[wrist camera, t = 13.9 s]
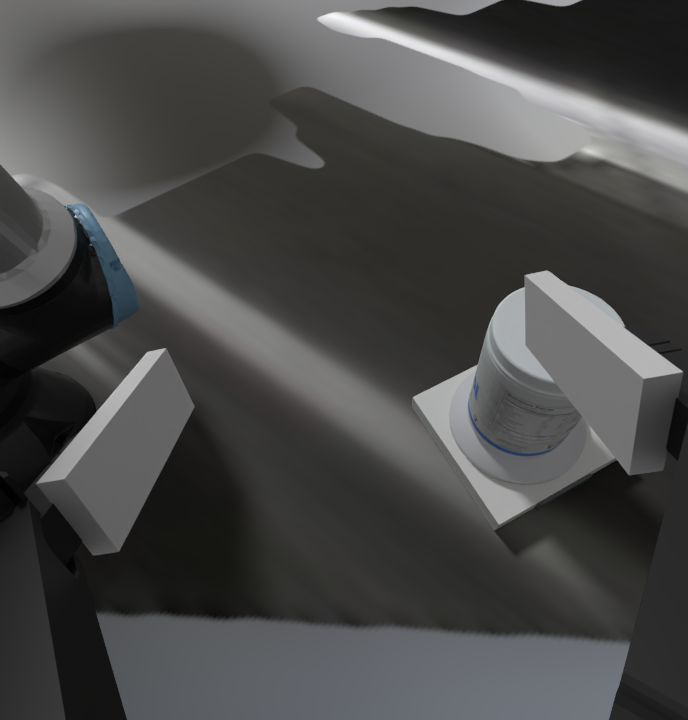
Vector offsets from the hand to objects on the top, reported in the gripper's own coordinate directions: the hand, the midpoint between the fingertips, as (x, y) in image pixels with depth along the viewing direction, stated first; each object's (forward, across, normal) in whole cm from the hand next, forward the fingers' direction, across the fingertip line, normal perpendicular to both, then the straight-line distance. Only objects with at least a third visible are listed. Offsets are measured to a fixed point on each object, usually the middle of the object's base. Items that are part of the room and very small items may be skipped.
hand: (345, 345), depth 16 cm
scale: (+22, +12, -25) cm, 36 cm away
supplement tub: (+21, +13, -22) cm, 33 cm away
